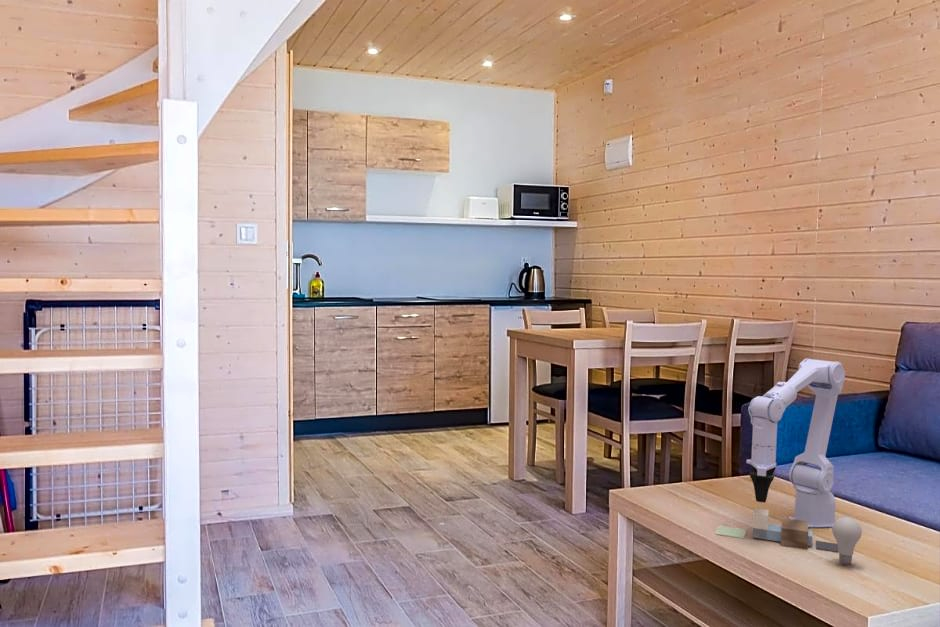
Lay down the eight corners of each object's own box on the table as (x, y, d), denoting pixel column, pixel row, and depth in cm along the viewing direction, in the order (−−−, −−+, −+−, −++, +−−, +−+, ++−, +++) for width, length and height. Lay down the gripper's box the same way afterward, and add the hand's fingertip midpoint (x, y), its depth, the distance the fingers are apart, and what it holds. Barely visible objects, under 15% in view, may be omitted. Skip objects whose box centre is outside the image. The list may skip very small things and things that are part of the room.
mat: (746, 530, 198) (746, 529, 198) (744, 538, 192) (744, 537, 192) (718, 526, 201) (718, 525, 201) (715, 534, 195) (715, 533, 195)
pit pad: (842, 545, 189) (842, 544, 189) (843, 553, 183) (843, 552, 183) (816, 541, 191) (816, 540, 191) (816, 549, 186) (816, 548, 186)
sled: (811, 539, 191) (812, 516, 191) (811, 546, 187) (813, 522, 186) (753, 531, 197) (754, 508, 196) (752, 537, 192) (753, 513, 192)
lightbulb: (826, 564, 176) (828, 517, 176) (836, 557, 180) (838, 511, 180) (854, 571, 172) (856, 523, 171) (863, 565, 176) (866, 518, 175)
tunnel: (807, 538, 193) (808, 521, 193) (807, 549, 185) (808, 531, 185) (781, 534, 196) (782, 517, 196) (780, 545, 188) (781, 527, 187)
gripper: (749, 437, 201) (747, 488, 201) (745, 448, 188) (742, 503, 188) (778, 440, 198) (775, 492, 199) (776, 451, 185) (773, 507, 185)
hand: (761, 497), depth 193 cm, fingers open, 7 cm apart
